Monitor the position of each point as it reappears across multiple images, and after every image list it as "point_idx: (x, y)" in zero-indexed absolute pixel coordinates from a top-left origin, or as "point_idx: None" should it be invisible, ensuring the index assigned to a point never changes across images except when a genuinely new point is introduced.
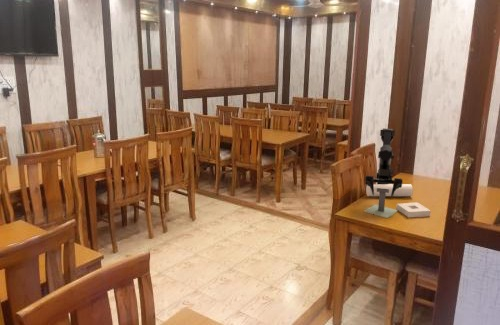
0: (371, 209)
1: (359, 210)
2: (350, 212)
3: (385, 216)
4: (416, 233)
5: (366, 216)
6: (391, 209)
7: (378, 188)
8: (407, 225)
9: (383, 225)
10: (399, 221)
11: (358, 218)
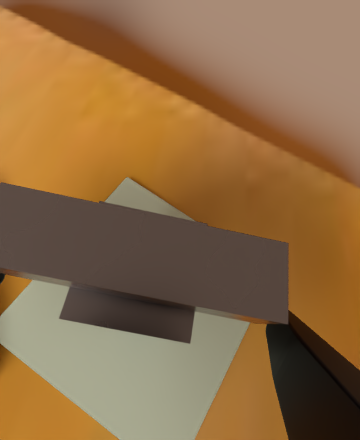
0: None
1: (301, 302)
2: (352, 255)
3: (138, 188)
4: (38, 34)
5: (253, 201)
6: (44, 339)
7: (248, 293)
8: (42, 101)
9: (173, 100)
10: (67, 145)
11: (295, 170)
